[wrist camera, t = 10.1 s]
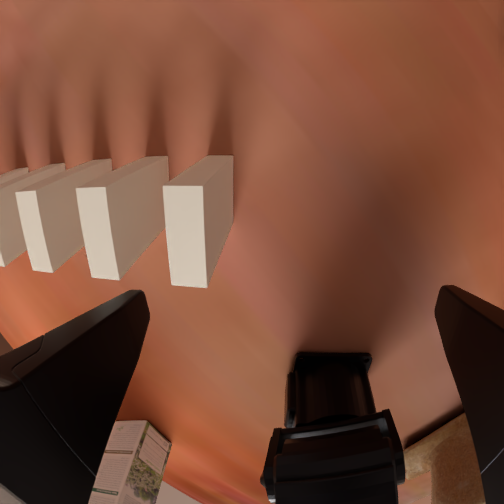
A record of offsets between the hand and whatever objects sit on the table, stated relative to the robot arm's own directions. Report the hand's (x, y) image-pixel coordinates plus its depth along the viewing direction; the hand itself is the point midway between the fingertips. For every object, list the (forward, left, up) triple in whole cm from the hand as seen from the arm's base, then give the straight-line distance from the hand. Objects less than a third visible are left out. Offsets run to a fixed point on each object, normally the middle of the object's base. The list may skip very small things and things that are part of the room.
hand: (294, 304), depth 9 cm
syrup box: (+15, +30, -12) cm, 36 cm away
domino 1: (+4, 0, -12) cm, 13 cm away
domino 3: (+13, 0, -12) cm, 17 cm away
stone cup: (-23, +28, -12) cm, 38 cm away
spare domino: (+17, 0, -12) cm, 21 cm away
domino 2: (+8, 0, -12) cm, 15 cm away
